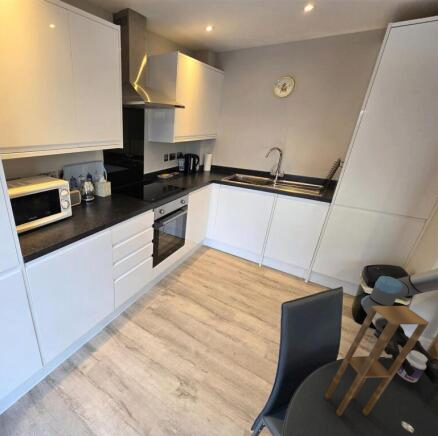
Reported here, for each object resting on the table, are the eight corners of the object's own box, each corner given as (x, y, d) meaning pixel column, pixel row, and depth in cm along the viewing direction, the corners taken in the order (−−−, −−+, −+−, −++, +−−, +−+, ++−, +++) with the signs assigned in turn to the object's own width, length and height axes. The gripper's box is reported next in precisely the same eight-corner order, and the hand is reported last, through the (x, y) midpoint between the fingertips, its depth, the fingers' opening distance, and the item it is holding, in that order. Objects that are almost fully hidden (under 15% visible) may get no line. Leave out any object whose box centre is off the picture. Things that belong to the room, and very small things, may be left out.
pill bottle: (420, 379, 84) (434, 360, 80) (411, 385, 82) (425, 365, 78) (400, 365, 88) (412, 346, 85) (392, 370, 86) (404, 350, 83)
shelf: (404, 307, 66) (405, 306, 66) (428, 324, 61) (429, 322, 61) (371, 307, 66) (372, 305, 65) (392, 324, 60) (393, 322, 60)
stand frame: (351, 395, 81) (404, 307, 66) (367, 415, 75) (428, 324, 61) (324, 396, 80) (371, 307, 66) (337, 416, 75) (392, 324, 60)
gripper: (411, 339, 97) (455, 396, 77) (356, 325, 103) (383, 374, 83) (420, 325, 94) (468, 380, 74) (363, 311, 100) (393, 358, 80)
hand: (423, 376), depth 78 cm, fingers closed on pill bottle, 5 cm apart
